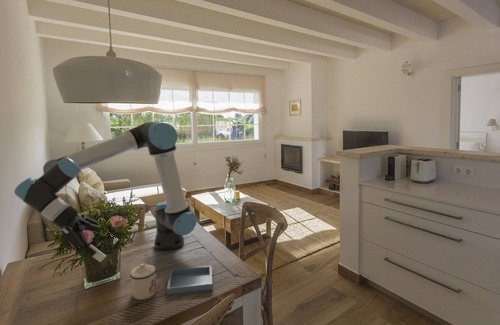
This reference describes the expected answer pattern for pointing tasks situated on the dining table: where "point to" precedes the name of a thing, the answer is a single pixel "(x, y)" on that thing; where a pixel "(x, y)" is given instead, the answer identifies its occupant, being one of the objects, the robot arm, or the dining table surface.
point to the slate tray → (190, 280)
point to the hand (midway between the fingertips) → (110, 250)
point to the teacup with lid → (143, 281)
